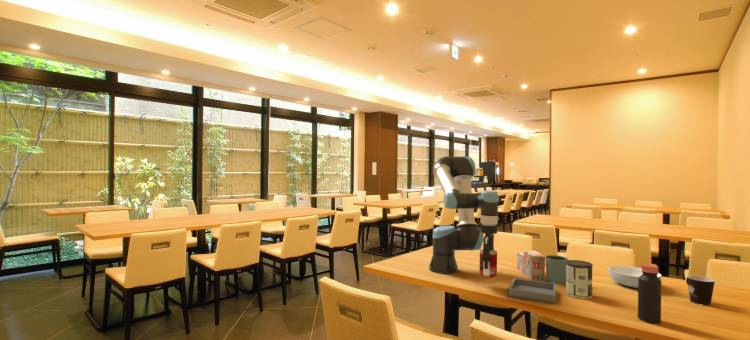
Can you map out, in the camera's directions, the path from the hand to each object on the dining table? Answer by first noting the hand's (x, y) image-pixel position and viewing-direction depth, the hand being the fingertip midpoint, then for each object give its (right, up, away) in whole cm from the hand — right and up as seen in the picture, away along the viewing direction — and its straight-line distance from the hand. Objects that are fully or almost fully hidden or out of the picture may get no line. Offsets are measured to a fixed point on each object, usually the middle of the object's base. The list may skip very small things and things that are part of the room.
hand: (488, 272), depth 172 cm
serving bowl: (+71, -8, +5) cm, 72 cm away
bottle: (+48, -7, -36) cm, 61 cm away
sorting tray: (+17, -7, -9) cm, 20 cm away
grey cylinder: (+36, -7, +9) cm, 38 cm away
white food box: (+29, -7, +22) cm, 37 cm away
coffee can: (+37, -7, -9) cm, 39 cm away
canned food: (0, -1, 0) cm, 1 cm away
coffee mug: (+84, -8, -17) cm, 86 cm away
